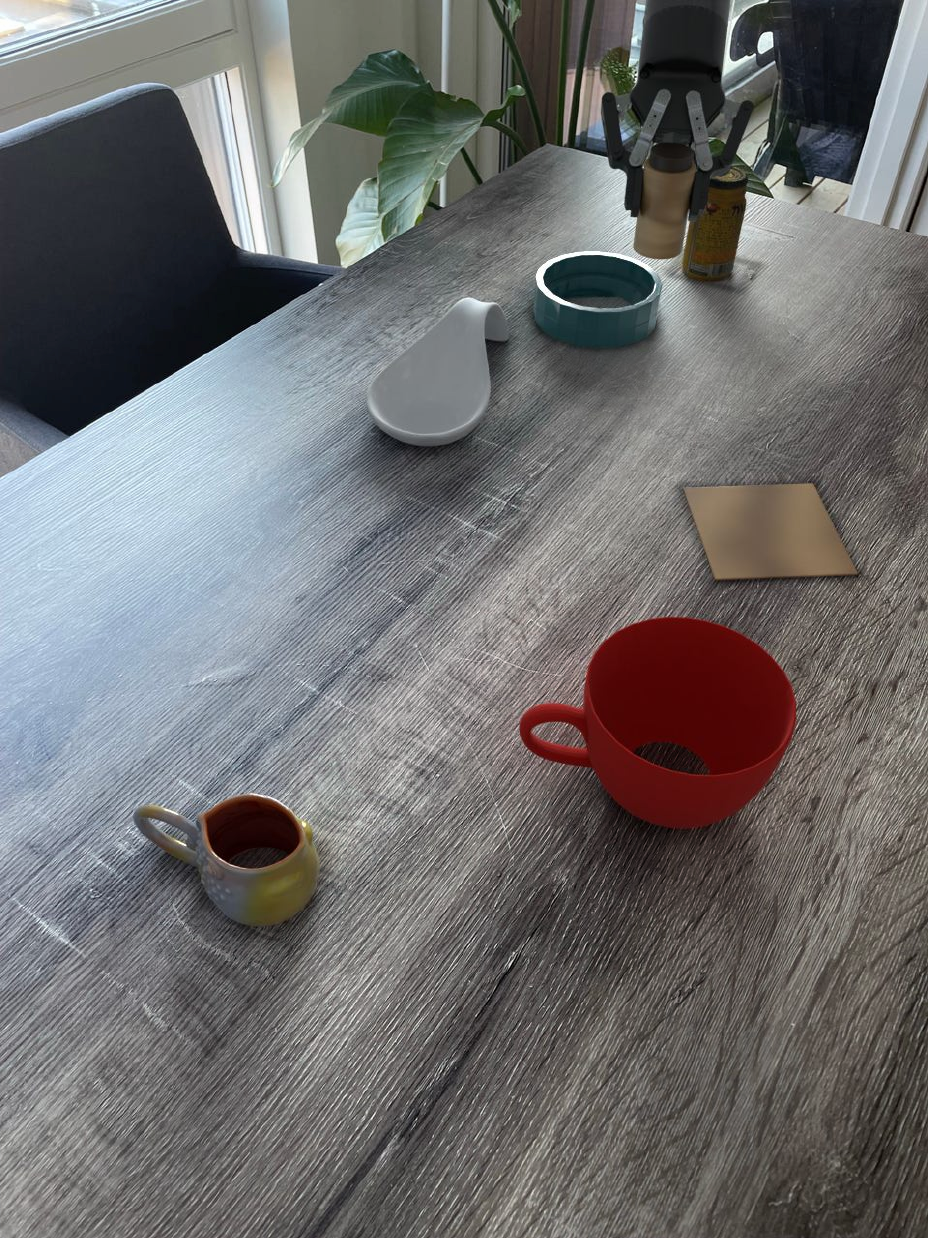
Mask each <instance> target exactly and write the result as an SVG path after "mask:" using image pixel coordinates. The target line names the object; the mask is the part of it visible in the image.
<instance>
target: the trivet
mask: <svg viewBox="0 0 928 1238" xmlns="http://www.w3.org/2000/svg"><path fill="white" fill-rule="evenodd" d="M682 491H683V493H684V496H685V499H686V502H687V506H688V508H689V510H690V513H691V516H692V519H693V522H694V525H695V528H696V530H697V533H698V536H699V539H700V543H701V544H702V548H703V551H704V553H705V556H706V559H707V561H708V564H709V567H710V571H711V573H712V576H713V579H714V580H715V581H735V580H736V581H737V580H739V581H740V580H760V579H761V580H762V579H784V578H785V579H787V578H788V579H789V578H812V577H815V578H816V577H837V576H838V577H840V576H858V575H859V573H858V571H857V568H856V567H855V564H854V563H853V561H852V559H851V557H850V555H849V553H848V550H847V549H846V547H845V545H844V543H843V540H842V538H841V536H840V534H839V533H838V530H837V529H836V527H835V525H834V523H833V521H832V518H831V517H830V515H829V513H828V511H827V509H826V506H825V505H824V503H823V501H822V498H821V496H820V495H819V492H818V490H817V489H816V486H815V485H814V483H787V484H758V485H757V484H756V485H755V484H754V485H753V484H752V485H727V486H724V485H721V486H697V487H683V488H682Z"/></svg>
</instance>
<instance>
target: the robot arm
mask: <svg viewBox="0 0 928 1238" xmlns="http://www.w3.org/2000/svg"><path fill="white" fill-rule="evenodd" d="M730 9H731V0H645V4H644V14H643V15H644V16H643V18H642V31H641V41H640V48H639V49H640V51H639V60H638V66H637V67H638V68H637V79H636V83H635V84H634V86H633V87H632V88H631V90H630V93H625V94H621V95H616V96H615V94H614V93H613V92H610V91H607V92H605V93H603V94H602V97H601V104H600V116H601V124H602V131H603V135H604V142H605V143H604V144H605V148H606V154H607V160H608V166H609V167H610V168H611V169H612V170H619V171H621V172H623V173H624V174H625V177H626V182H625V192H624V200H623V206H624V209H625V211H630V216H629V217H630V218H637V217H638V214H639V208H640V199H641V190H642V181H643V172H644V162H645V161H646V160H647V159H648V158H649V157H650V150H651V147H652V146H654V145H656V144H659V143H665V142H673V143H680V144H684V145H687V146H689V147H691V148H692V149H693V150H694V156H693V162H694V163H695V164H696V172H695V177H694V183H693V189H692V195H691V201H690V207H689V213H688V219H687V222H689V221H693V222H696V220H697V217H698V215H703V213H704V211H705V209H706V206H707V201H708V192H709V183H710V179H711V178H713V177H715V176H718V175H719V176H721V177H723V176H726V175H727V174H728V173H729V171H730V168H731V166H733V163H734V160H735V157H736V155H737V153H738V150H739V148H740V146H741V142H742V140H743V137H744V135H745V132H746V131H747V127H748V125H749V123H750V120H751V117H752V115H753V112H754V110H755V109H754V108H755V104H754V102H753V101H751V100H749V99H747V100H744V101H742V102H741V103H739V102H737V101H733V100H731V99H727V98H726V93H725V91H724V89H723V85H722V81H723V72H724V62H725V55H726V45H727V38H728V37H727V35H728V28H729V18H730V17H729V16H730ZM630 109H631V112H632V113H633V115H634V117H635V118H636V120H637V122H638V123H639V125H640V126H641V130H640V132H639V135H638V137H637V140H636V142H635V146H634V147H633V149H632V151H629V150H626V149H624V144H623V139H622V138H623V137H622V132H621V125H620V124H621V123H623V122H624V121H625V118H626V113H627V111H628V110H630ZM720 115H722V116H723V117H724V127H725V129H726V130H728V131H729V134H728V136H727V139H726V141H725V143H724V146H723V149H722V151H721V154H719V155H715V156H712V153H711V148H710V144H709V143H710V142H709V141H710V140H709V139H710V138H709V133H708V128H710V126H711V125H712V124H713V123H714V122H715V120H716V119H717V118H718V117H719V116H720Z"/></svg>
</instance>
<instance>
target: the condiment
mask: <svg viewBox="0 0 928 1238" xmlns="http://www.w3.org/2000/svg"><path fill="white" fill-rule="evenodd" d="M748 184H749V175H748V174H747V173H746V172H745V171H744V169H741V168H740V167H735V166H733V165H732V166H731V168H730V171H729V173H728V174H727V175H726V176H723V177H721V176H719V175H718V176H715V177H713V178H711V179H710V183H709V192H708V201H707V206H706V209H705V211H704V213H703V215H698V217H697V220H696V222H693V221H688V227H687V232H686V236H685V237H686V239H685V245H684V249H683V255H682V259H681V266H682V271H683V273H684V274H685V275H686V276H687V277H689V278H691V279H694V280H696V281H701V282H708V283H709V282H710V283H713V282H721V281H724V280H726V279H727V278H729V277H730V275H731V274H732V271H733V270H734V265H735V260H736V256H737V251H738V248H739V242H740V237H741V232H742V228H743V223H744V219H745V215H746V214H745V213H746V210H747V205H748V203H747V197H746V194H747V185H748ZM744 270H745V272H746V274H747V275H748V277H749V279H751V278H752V277H753V275H754V274H755V273H756V270H754V269H752V268H749V267H744Z"/></svg>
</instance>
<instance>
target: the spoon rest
mask: <svg viewBox="0 0 928 1238" xmlns="http://www.w3.org/2000/svg"><path fill="white" fill-rule="evenodd" d="M505 314H506V313H505V312H504V311H503V308H502V307H501V306H500V304H498V303H497V302H493V301H492V302H485V301H484V302H483V301H480V300H478V299H475V298H474V297H465V298H462V299H460V300H458V301H457V302H456V303H455V304H454V305H452V307H451V308H449V309H448V310H447V312H446V313H445V314H443V316H442V317H441V318H440V319H439V320H438V321H437V322H436V323H434V325H433V326H432V327H430V328H429V329H428V330H427V331H426V332H425V333H424V334H423V335H421V336H420V337H419V338H418V339H417V340H415V341H414V342H413V343H412V344H411V345H409V346H408V347H407V348H406V349H405V350H403V352H401V353H400V354H398V355H397V356H396V357H395V358H394V359H392V361H391V362H389V363H388V364H387V365H386V366H384V368H383V369H382V370H381V371H380V372H379V373H377V375H376V376H375V377H374V379H372V381H371V382H370V383H369V386H368V388H367V391H366V394H365V398H364V399H365V400H364V401H365V402H364V403H365V408H366V411H367V413H368V415H369V417H370V418H371V420H372V421H373V423H374V424H375V425H376V426H377V427H378V428H379V429H380V430H381V431H382V432H384V433H385V434H387V435H388V436H390V437H392V438H393V439H395V440H397V441H400V442H402V443H404V444H409V445H411V446H416V447H417V446H419V447H439V446H444V445H448V444H452V443H454V442H457V441H459V440H461V439H463V438H464V437H465V436H467V435H468V434H470V433H471V432H472V431H473V430H474V429H475V428H476V427H477V426H478V425H479V424H480V422H481V421H482V419H483V418H484V416H485V415H486V413H487V410H488V408H489V404H490V399H491V393H492V391H491V388H492V387H491V375H490V367H489V360H488V354H487V346H486V340H489V341H496V342H506V341H508V340H509V339H510V330H509V324H508V320H507V317H506V315H505Z"/></svg>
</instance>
